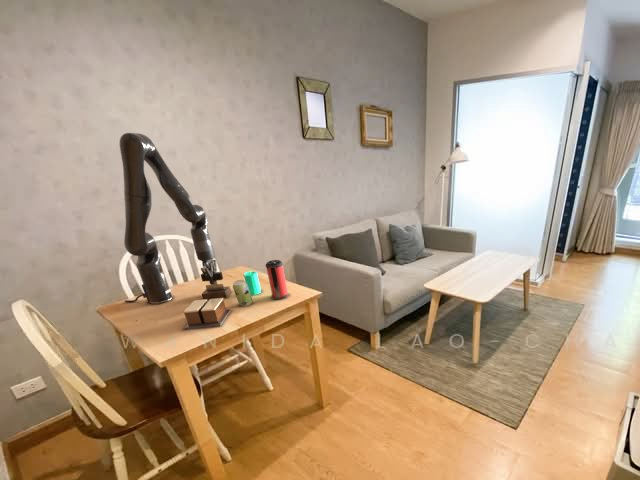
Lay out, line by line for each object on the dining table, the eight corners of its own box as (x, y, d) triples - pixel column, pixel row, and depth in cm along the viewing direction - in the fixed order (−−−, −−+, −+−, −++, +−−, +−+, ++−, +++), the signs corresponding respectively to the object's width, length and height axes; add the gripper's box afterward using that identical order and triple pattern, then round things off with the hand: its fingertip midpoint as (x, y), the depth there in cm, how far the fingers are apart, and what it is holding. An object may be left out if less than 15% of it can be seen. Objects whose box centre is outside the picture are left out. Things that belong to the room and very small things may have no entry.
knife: (207, 297, 165) (200, 274, 159) (208, 295, 167) (202, 273, 162) (226, 295, 166) (220, 273, 161) (227, 293, 168) (221, 271, 163)
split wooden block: (184, 329, 136) (179, 313, 132) (197, 313, 148) (193, 299, 145) (220, 326, 138) (216, 310, 134) (230, 311, 150) (226, 296, 147)
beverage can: (255, 300, 159) (249, 277, 154) (249, 307, 153) (243, 283, 148) (242, 301, 159) (236, 278, 154) (235, 308, 153) (229, 284, 148)
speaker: (290, 297, 163) (284, 262, 155) (274, 301, 159) (267, 265, 151) (285, 292, 168) (279, 258, 161) (270, 295, 164) (263, 261, 157)
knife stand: (203, 299, 162) (201, 294, 161) (208, 293, 169) (207, 288, 168) (226, 297, 164) (225, 292, 162) (231, 291, 170) (229, 286, 169)
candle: (248, 291, 170) (242, 269, 165) (260, 289, 172) (255, 267, 167) (248, 295, 165) (243, 273, 160) (261, 293, 167) (256, 271, 162)
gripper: (201, 245, 162) (210, 278, 169) (189, 253, 149) (200, 288, 157) (217, 244, 163) (226, 277, 170) (207, 252, 150) (217, 287, 158)
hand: (213, 282), depth 163 cm, fingers closed on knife, 2 cm apart
